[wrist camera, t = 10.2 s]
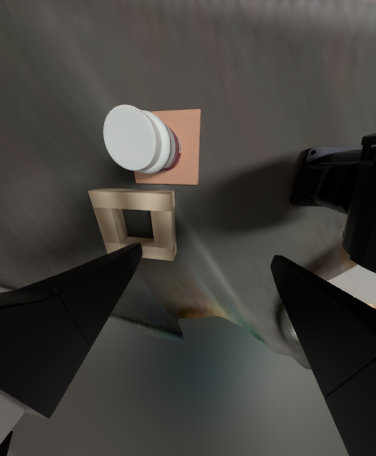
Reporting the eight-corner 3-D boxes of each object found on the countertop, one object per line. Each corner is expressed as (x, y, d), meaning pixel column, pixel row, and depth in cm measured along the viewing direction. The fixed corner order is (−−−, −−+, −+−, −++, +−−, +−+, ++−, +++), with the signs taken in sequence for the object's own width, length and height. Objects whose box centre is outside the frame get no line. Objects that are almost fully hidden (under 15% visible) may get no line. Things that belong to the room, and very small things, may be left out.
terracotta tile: (200, 111, 15) (200, 109, 15) (198, 184, 19) (197, 184, 18) (127, 114, 16) (124, 112, 16) (138, 182, 20) (136, 183, 19)
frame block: (174, 190, 20) (169, 194, 17) (176, 251, 24) (173, 260, 22) (100, 188, 21) (87, 191, 19) (116, 246, 26) (107, 253, 24)
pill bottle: (144, 163, 18) (96, 162, 11) (151, 121, 16) (98, 83, 8) (176, 176, 18) (152, 185, 11) (188, 136, 16) (168, 112, 8)
